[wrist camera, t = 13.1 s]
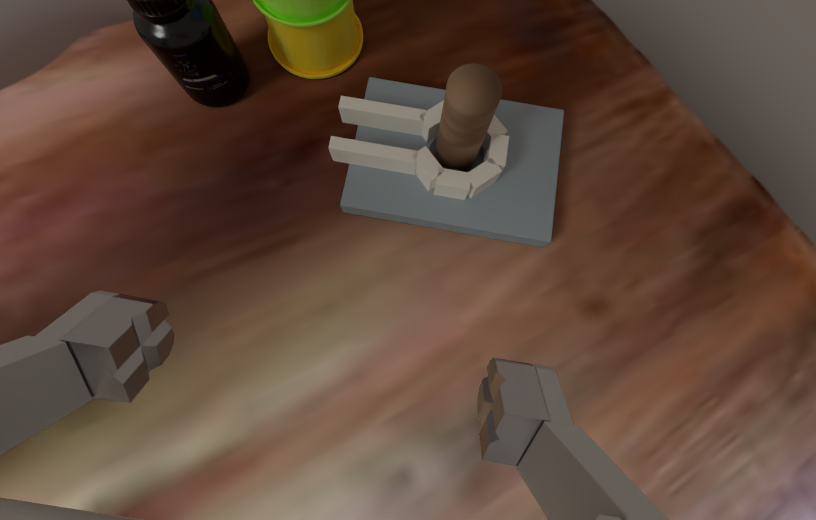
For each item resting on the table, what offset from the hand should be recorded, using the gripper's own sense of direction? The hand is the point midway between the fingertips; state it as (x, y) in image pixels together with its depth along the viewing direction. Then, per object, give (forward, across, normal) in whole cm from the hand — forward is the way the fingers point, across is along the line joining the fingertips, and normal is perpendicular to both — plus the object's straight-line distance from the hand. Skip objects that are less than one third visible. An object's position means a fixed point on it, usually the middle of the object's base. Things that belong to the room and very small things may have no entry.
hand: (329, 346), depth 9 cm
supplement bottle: (+36, +21, +2) cm, 42 cm away
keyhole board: (+31, -5, +5) cm, 32 cm away
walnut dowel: (+30, -5, +3) cm, 30 cm away
